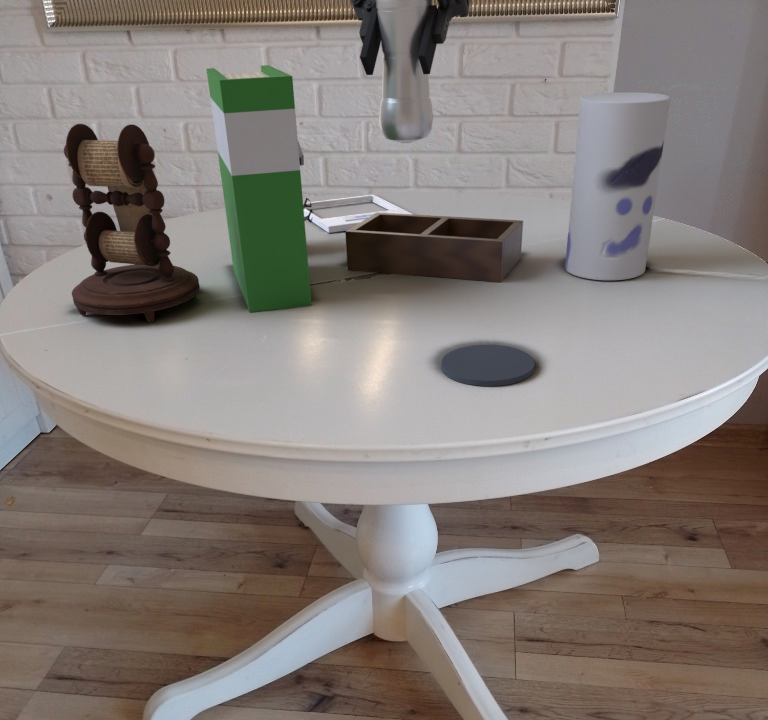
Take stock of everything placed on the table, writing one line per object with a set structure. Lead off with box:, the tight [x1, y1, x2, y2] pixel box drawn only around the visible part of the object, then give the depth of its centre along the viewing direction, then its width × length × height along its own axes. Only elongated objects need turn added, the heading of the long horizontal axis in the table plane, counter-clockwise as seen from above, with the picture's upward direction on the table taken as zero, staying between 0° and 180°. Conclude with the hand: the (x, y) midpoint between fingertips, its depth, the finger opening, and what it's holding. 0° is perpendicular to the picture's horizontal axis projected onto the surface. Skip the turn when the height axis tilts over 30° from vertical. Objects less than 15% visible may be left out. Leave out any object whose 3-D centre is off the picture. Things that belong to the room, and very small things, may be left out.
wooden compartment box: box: [344, 211, 524, 283], centre depth 106 cm, size 21×11×5 cm, turn 69°
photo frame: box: [303, 194, 413, 234], centre depth 132 cm, size 15×1×18 cm
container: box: [564, 91, 671, 281], centre depth 97 cm, size 10×10×20 cm
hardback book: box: [206, 64, 313, 313], centre depth 94 cm, size 18×7×24 cm, turn 15°
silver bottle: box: [376, 0, 434, 144], centre depth 91 cm, size 6×7×20 cm
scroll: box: [63, 123, 201, 324], centre depth 91 cm, size 15×15×20 cm
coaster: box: [440, 344, 536, 387], centre depth 77 cm, size 9×9×1 cm
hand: (394, 65), depth 89 cm, fingers closed on silver bottle, 6 cm apart
